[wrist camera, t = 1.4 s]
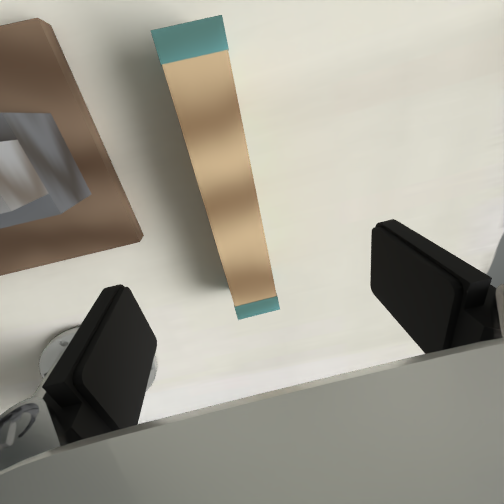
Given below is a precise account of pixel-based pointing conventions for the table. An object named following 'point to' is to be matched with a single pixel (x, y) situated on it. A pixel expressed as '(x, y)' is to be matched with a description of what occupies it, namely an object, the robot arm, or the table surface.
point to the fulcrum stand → (52, 160)
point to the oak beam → (219, 155)
